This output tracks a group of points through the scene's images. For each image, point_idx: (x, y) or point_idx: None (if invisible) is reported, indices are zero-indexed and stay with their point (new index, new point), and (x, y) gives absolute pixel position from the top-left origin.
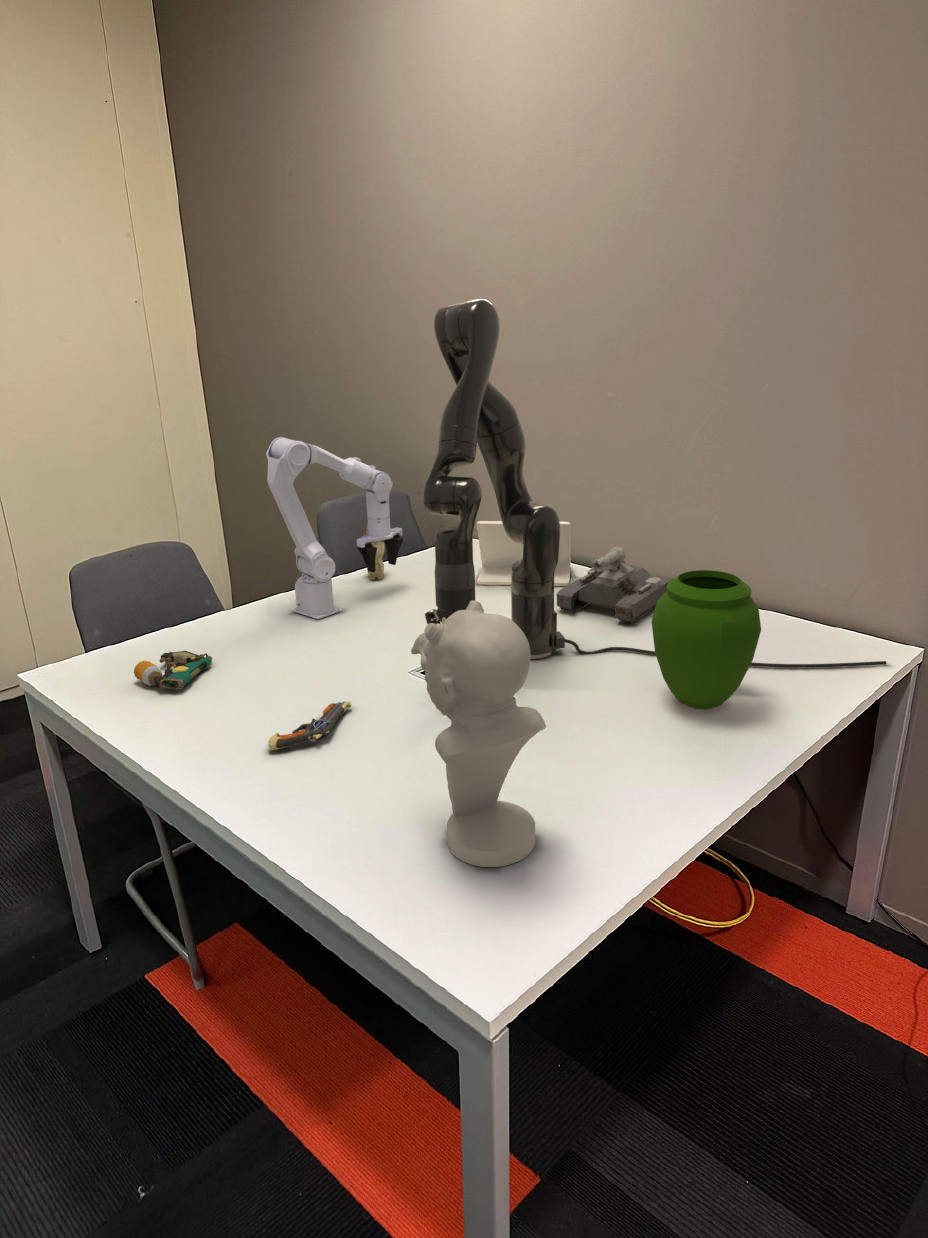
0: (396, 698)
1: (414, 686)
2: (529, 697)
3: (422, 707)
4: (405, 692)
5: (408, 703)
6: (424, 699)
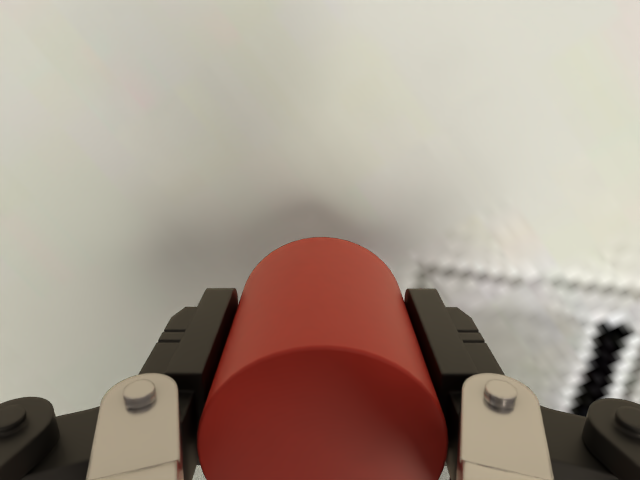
0: (603, 16)
1: (582, 196)
2: (53, 380)
3: (400, 10)
4: (592, 111)
5: (503, 4)
6: (448, 101)
